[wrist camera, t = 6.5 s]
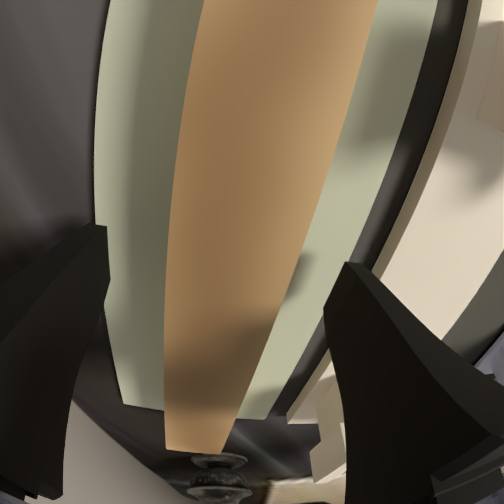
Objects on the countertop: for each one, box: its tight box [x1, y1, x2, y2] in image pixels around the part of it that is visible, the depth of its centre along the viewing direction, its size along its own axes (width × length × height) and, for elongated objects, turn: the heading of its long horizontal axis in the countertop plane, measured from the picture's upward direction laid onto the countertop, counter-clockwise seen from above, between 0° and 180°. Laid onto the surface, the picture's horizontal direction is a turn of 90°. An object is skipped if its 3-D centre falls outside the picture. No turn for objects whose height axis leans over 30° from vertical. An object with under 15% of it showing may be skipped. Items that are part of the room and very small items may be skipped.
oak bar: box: [164, 0, 378, 455], centre depth 10 cm, size 3×24×3 cm, turn 168°
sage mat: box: [94, 0, 438, 419], centre depth 11 cm, size 9×26×1 cm, turn 168°
